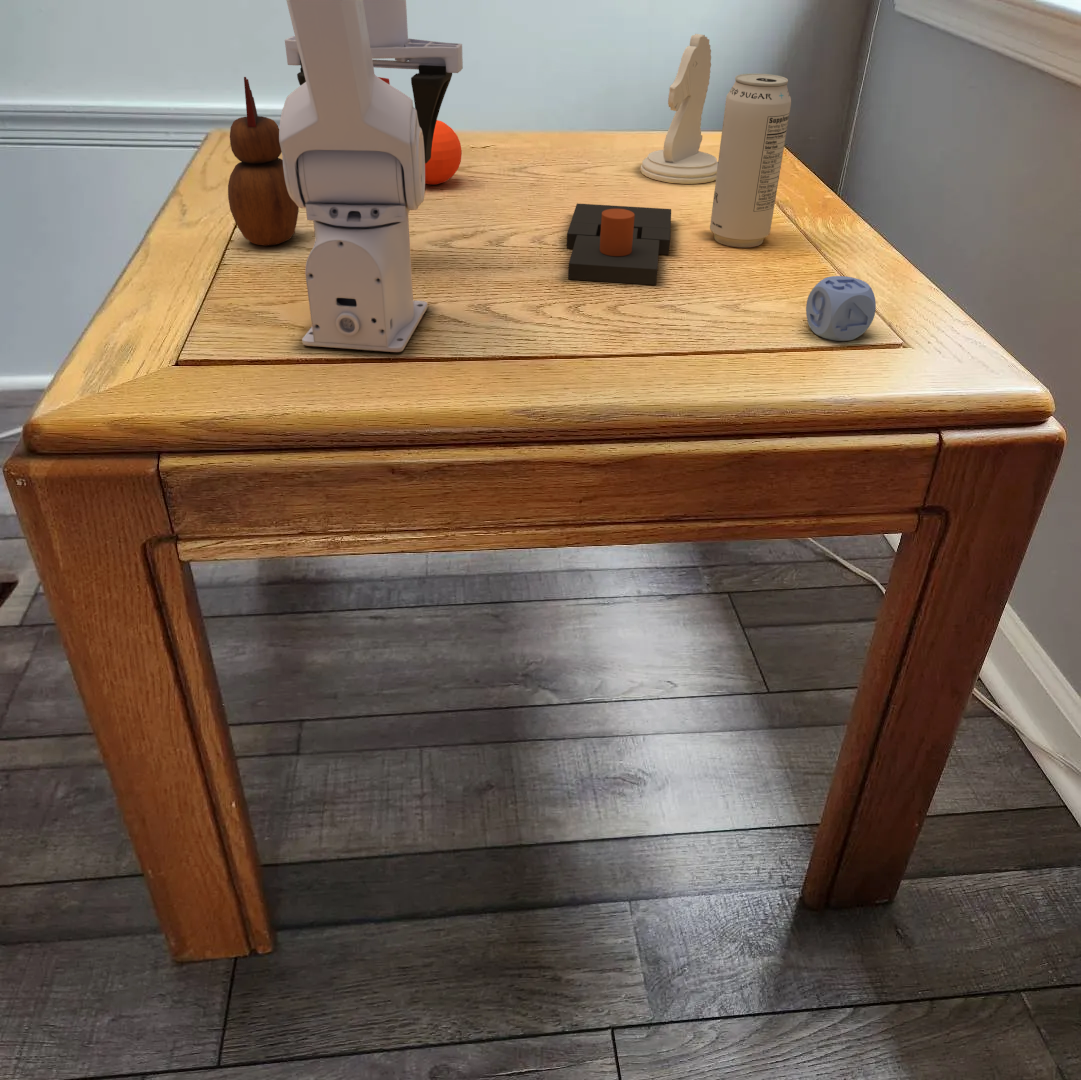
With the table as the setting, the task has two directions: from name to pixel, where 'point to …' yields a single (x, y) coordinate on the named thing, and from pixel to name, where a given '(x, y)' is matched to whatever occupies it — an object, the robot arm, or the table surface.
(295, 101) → the robot arm
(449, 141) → the clementine
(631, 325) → the table surface
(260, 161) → the wooden figurine
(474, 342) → the table surface
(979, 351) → the table surface
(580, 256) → the pad
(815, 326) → the decorative dice
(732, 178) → the energy drink can
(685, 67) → the chess piece
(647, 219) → the base pad
